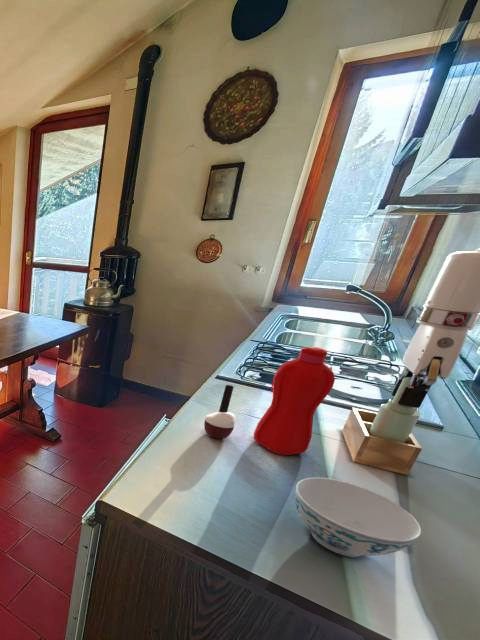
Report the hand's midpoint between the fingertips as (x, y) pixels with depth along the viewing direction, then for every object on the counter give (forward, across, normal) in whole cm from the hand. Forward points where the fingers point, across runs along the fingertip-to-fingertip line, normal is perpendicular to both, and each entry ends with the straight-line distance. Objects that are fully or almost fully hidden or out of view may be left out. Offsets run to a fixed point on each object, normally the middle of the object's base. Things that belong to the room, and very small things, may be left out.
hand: (404, 400), depth 83 cm
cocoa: (+15, -9, +31) cm, 36 cm away
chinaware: (+15, -38, +11) cm, 42 cm away
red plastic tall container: (+15, -6, +19) cm, 25 cm away
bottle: (+14, 0, 0) cm, 14 cm away
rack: (+15, +4, 0) cm, 15 cm away
